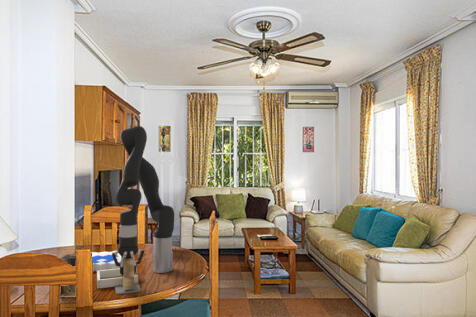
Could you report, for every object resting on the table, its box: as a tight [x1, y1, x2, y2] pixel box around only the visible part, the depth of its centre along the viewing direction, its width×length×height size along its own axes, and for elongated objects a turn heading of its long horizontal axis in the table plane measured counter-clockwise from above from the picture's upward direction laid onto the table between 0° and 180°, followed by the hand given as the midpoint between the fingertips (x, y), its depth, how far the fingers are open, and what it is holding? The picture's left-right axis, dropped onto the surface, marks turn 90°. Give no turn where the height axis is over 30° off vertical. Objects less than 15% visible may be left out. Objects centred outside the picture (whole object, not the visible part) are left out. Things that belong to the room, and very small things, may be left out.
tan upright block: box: [122, 258, 134, 290], centre depth 150 cm, size 4×10×12 cm, turn 23°
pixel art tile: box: [91, 250, 121, 272], centre depth 187 cm, size 28×4×28 cm
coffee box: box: [59, 253, 76, 297], centre depth 143 cm, size 9×6×16 cm
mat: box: [114, 282, 142, 295], centre depth 150 cm, size 10×10×1 cm
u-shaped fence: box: [96, 268, 139, 289], centre depth 160 cm, size 17×15×4 cm
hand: (127, 274), depth 150 cm, fingers closed on tan upright block, 4 cm apart
